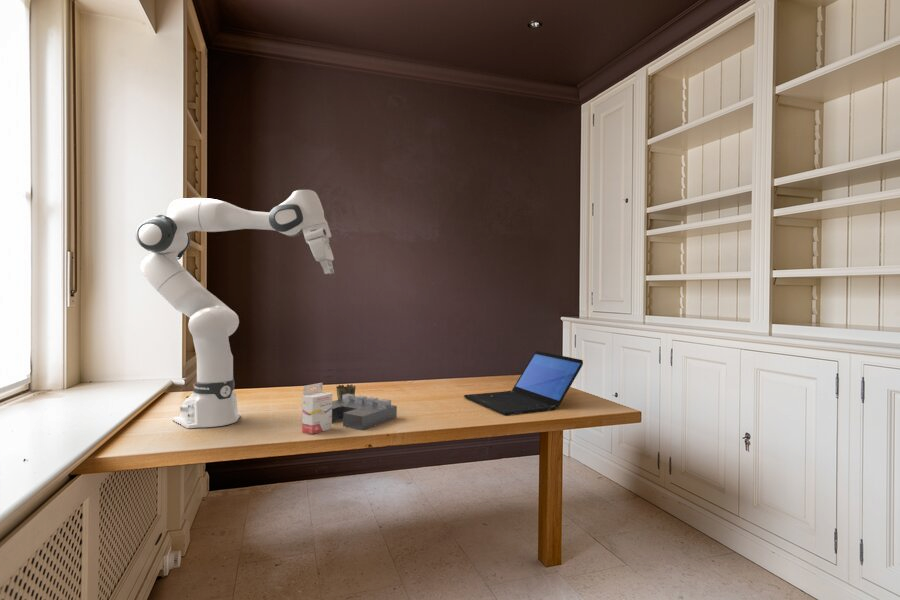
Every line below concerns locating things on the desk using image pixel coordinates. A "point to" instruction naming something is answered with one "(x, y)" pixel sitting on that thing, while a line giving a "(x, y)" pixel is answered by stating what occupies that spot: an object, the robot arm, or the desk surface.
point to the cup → (345, 390)
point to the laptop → (534, 386)
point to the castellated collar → (362, 411)
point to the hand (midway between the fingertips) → (329, 273)
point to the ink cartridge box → (316, 409)
